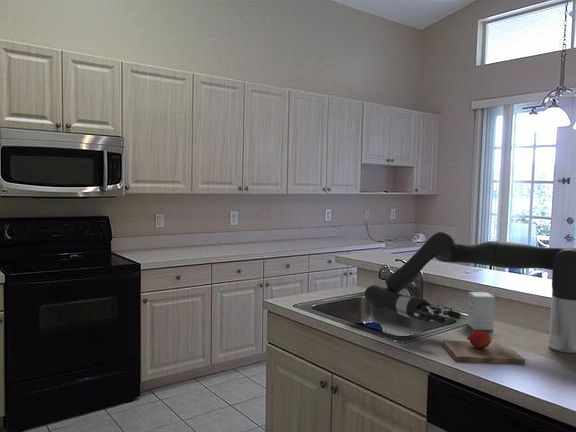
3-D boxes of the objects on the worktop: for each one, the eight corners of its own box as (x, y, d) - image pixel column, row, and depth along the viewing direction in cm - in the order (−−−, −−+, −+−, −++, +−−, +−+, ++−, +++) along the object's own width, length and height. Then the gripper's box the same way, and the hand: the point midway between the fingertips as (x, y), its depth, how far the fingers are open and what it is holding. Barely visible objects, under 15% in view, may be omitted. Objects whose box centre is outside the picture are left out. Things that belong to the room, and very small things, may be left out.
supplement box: (486, 324, 183) (488, 292, 182) (493, 330, 175) (495, 296, 174) (466, 324, 183) (468, 291, 182) (473, 329, 176) (475, 296, 175)
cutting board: (504, 347, 157) (504, 342, 157) (524, 364, 142) (525, 359, 142) (442, 344, 158) (442, 340, 158) (456, 361, 143) (457, 356, 143)
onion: (495, 351, 149) (471, 348, 155) (496, 332, 150) (473, 330, 156) (485, 348, 145) (461, 345, 152) (486, 329, 147) (463, 327, 153)
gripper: (399, 299, 166) (440, 309, 153) (424, 294, 174) (465, 304, 162) (398, 320, 166) (439, 332, 153) (423, 314, 175) (464, 325, 162)
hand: (452, 318), depth 158 cm, fingers open, 8 cm apart
